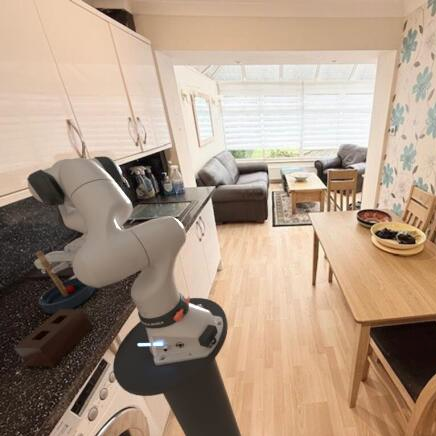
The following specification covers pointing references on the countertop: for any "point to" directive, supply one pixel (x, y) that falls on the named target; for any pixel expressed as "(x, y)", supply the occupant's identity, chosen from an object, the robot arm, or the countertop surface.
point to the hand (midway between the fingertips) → (47, 272)
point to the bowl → (56, 301)
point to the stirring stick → (52, 275)
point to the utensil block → (54, 338)
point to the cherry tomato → (70, 289)
